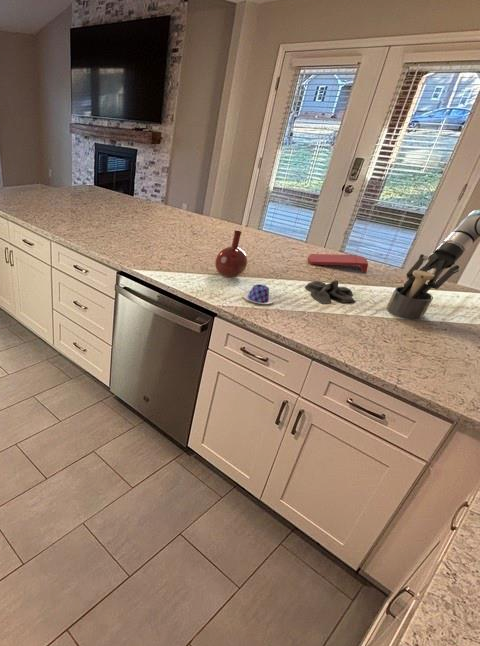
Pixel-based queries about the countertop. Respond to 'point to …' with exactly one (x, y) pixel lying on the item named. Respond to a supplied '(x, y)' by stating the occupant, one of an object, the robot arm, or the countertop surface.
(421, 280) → the handle
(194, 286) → the countertop surface
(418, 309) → the canister
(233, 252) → the round-bottom flask
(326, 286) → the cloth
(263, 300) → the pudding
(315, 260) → the red bent slab
